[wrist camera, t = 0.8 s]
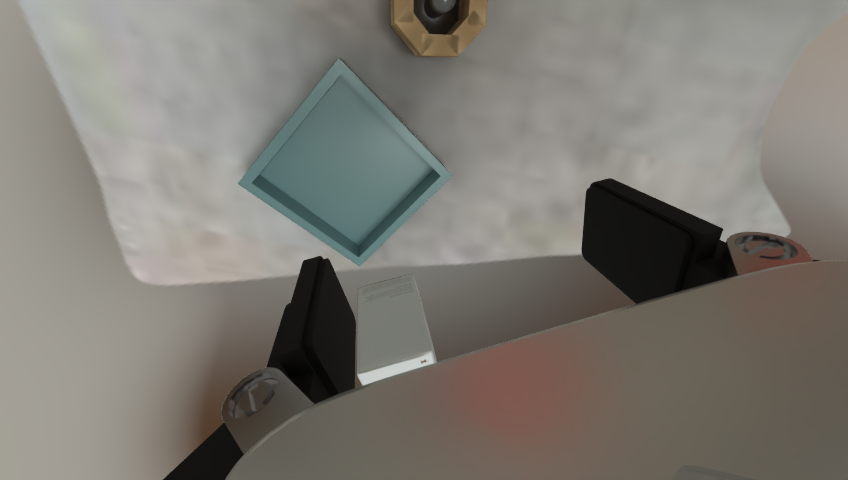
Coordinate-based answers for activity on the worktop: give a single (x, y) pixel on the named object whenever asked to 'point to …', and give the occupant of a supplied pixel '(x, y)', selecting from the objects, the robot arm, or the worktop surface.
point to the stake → (437, 14)
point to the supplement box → (391, 330)
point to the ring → (438, 44)
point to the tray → (346, 167)
